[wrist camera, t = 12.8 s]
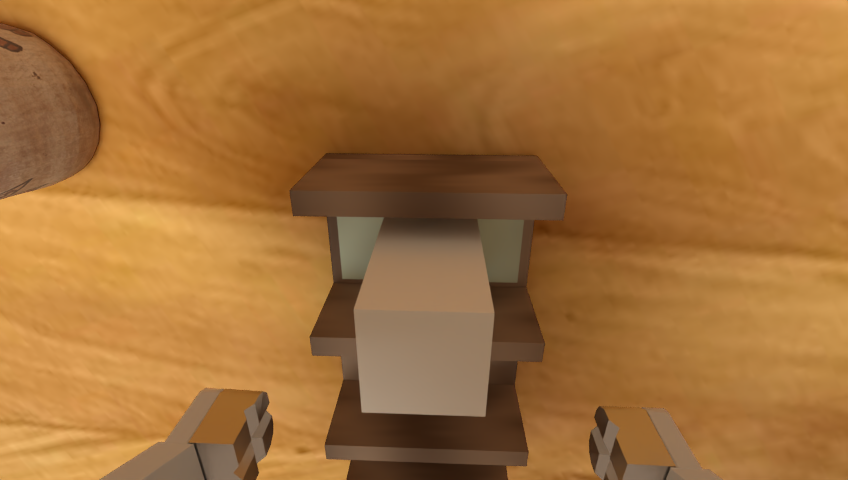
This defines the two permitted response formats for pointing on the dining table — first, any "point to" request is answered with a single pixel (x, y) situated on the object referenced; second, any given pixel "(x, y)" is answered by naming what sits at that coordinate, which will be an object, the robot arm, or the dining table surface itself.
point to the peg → (425, 320)
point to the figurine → (41, 115)
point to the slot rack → (507, 273)
